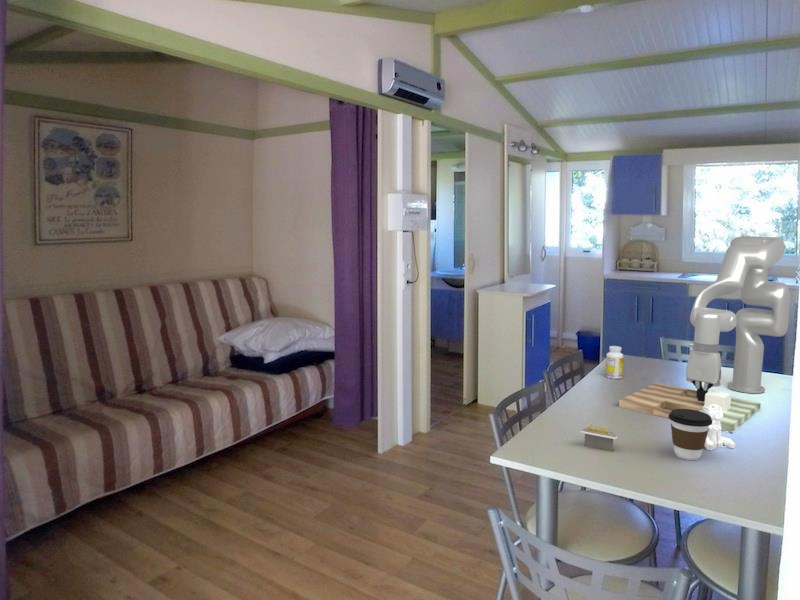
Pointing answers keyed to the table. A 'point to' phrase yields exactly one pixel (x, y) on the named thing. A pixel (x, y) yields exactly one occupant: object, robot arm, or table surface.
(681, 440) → the coffee cup
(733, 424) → the board
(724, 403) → the block
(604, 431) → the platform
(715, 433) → the white creature statuette
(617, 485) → the table surface
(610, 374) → the supplement bottle
